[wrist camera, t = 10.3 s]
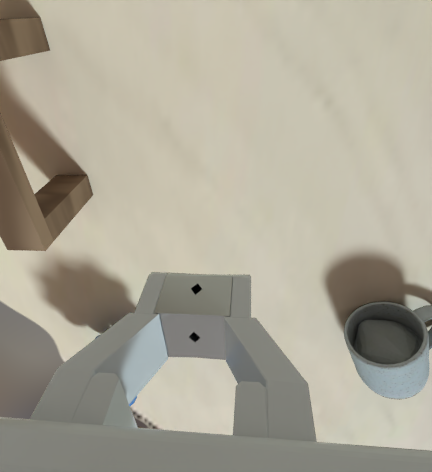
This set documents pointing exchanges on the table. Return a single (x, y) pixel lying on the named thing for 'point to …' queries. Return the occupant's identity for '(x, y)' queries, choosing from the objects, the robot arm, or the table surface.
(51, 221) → the bridge
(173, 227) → the table surface
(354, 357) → the ceramic mug
